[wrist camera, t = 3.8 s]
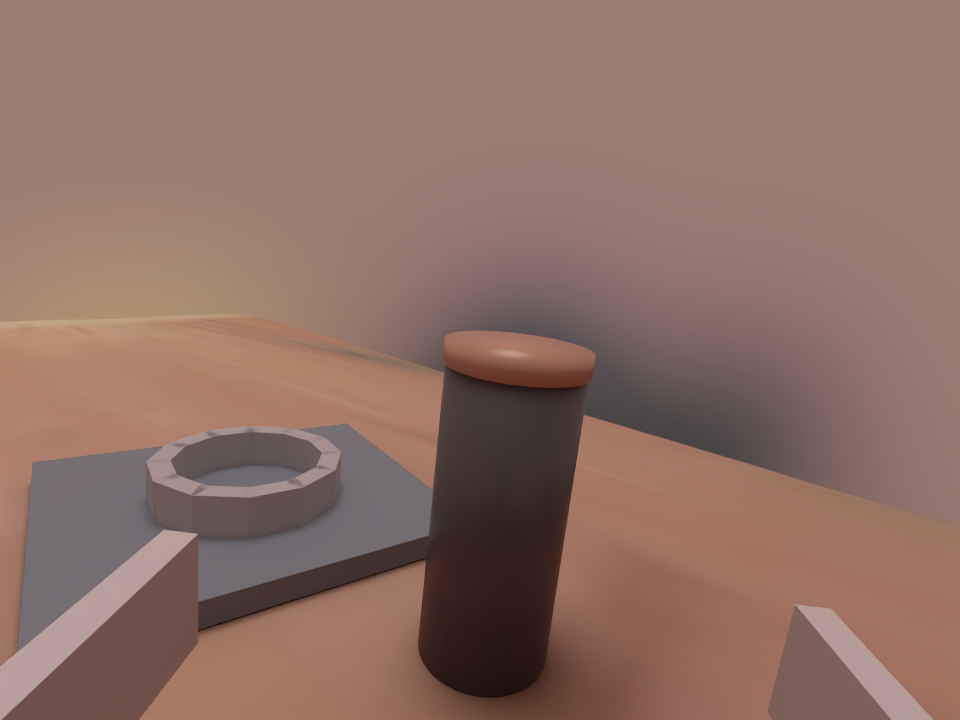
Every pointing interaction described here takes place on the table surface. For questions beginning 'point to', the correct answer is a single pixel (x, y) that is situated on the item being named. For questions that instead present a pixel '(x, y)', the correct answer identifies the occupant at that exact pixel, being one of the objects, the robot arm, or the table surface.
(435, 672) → the canister
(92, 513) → the board
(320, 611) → the table surface
